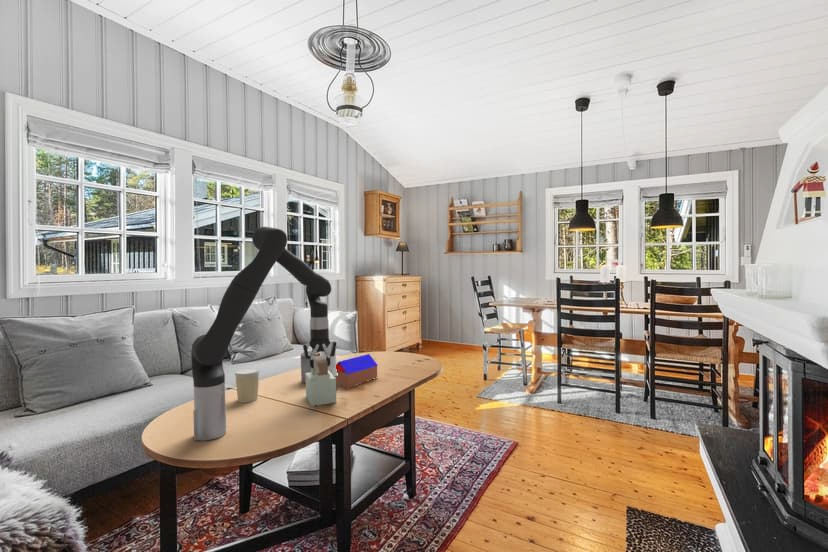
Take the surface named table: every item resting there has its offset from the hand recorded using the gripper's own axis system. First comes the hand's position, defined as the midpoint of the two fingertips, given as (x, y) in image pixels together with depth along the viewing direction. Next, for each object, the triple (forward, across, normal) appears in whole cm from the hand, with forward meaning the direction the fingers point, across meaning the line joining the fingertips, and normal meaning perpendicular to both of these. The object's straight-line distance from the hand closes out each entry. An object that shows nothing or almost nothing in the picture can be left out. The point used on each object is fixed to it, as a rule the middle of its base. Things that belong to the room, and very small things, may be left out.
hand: (320, 367), depth 165 cm
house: (+14, +20, +20) cm, 32 cm away
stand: (+14, 0, 0) cm, 14 cm away
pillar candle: (+14, +1, +30) cm, 33 cm away
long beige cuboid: (+2, 0, 0) cm, 2 cm away
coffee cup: (+14, -28, +14) cm, 34 cm away
